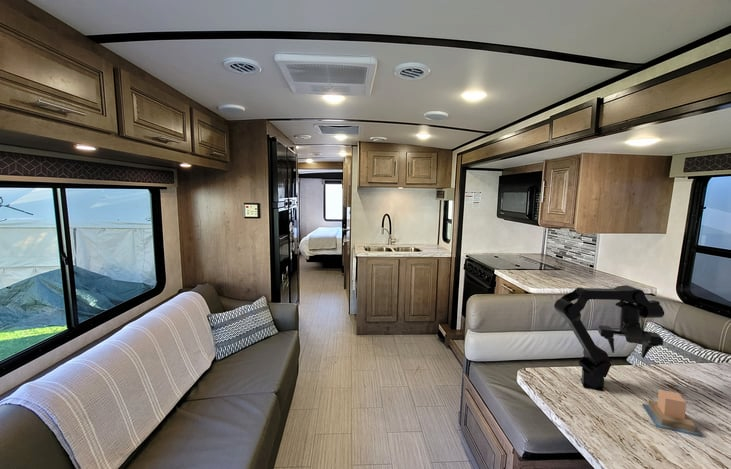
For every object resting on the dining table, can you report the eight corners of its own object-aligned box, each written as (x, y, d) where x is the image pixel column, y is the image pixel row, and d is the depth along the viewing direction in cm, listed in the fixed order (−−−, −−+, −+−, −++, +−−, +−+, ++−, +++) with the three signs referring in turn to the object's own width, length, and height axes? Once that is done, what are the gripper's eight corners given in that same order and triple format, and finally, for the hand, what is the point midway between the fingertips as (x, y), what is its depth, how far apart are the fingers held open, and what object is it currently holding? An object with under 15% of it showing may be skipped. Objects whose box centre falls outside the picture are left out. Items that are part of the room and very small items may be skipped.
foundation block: (656, 426, 97) (656, 418, 97) (642, 405, 107) (642, 398, 106) (702, 437, 92) (703, 428, 92) (683, 414, 102) (684, 406, 102)
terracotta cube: (664, 414, 98) (665, 398, 97) (657, 405, 102) (658, 389, 102) (684, 419, 96) (686, 402, 95) (676, 409, 100) (678, 393, 100)
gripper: (605, 321, 113) (603, 359, 114) (671, 330, 104) (668, 370, 106) (598, 311, 122) (596, 346, 124) (658, 318, 114) (655, 356, 115)
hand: (627, 354), depth 117 cm, fingers open, 9 cm apart
